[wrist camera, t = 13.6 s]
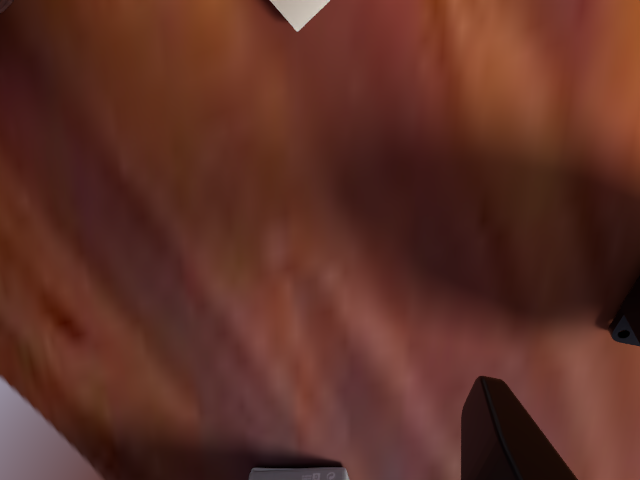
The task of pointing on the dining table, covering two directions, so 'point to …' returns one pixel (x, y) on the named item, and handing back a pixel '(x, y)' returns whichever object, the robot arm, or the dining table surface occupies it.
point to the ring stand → (299, 10)
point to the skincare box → (299, 473)
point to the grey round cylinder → (5, 4)
